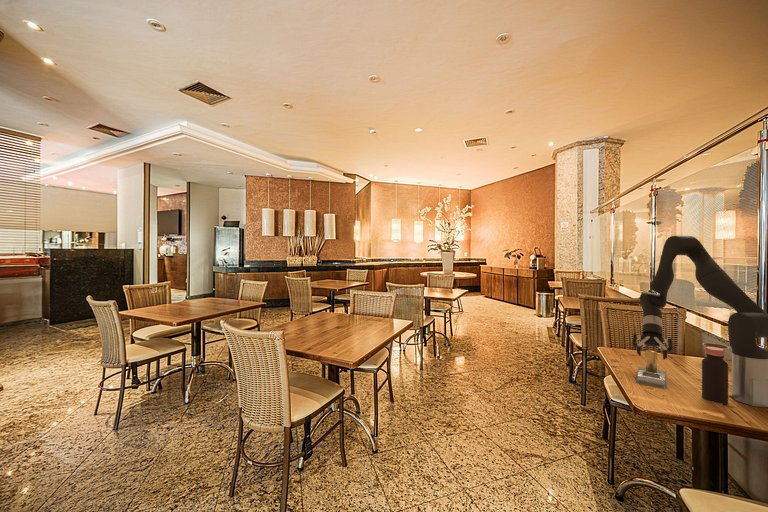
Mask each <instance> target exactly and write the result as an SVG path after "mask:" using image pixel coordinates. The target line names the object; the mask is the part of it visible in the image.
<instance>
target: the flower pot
mask: <svg viewBox="0 0 768 512" xmlns="http://www.w3.org/2000/svg"><path fill="white" fill-rule="evenodd" d="M702 346H703V349H704V350H705V347H717V348H721V349H724V357H723V360H724V361H725V362H726V359H727V355H728V352H729V349H730V346H727V345H724V344H720V343H714V342H713V343H712V342H711V343H710V342H703V343H702ZM704 354H705V357H707V355H706V353H704Z"/></svg>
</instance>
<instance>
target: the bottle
mask: <svg viewBox="0 0 768 512" xmlns="http://www.w3.org/2000/svg"><path fill="white" fill-rule="evenodd" d="M704 352H705V353H706V354H705V353H704V354H705V357H704V358H703V359H702V360H701V397H702V399H704V400H706V401H709V402H711V403H717V404H722V407H723V406H728V404H729V363H727V361H726V360H725V361H724V360H723V357H724V349H721V348H717V347H705V349H704ZM706 355H707V357H706Z"/></svg>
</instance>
